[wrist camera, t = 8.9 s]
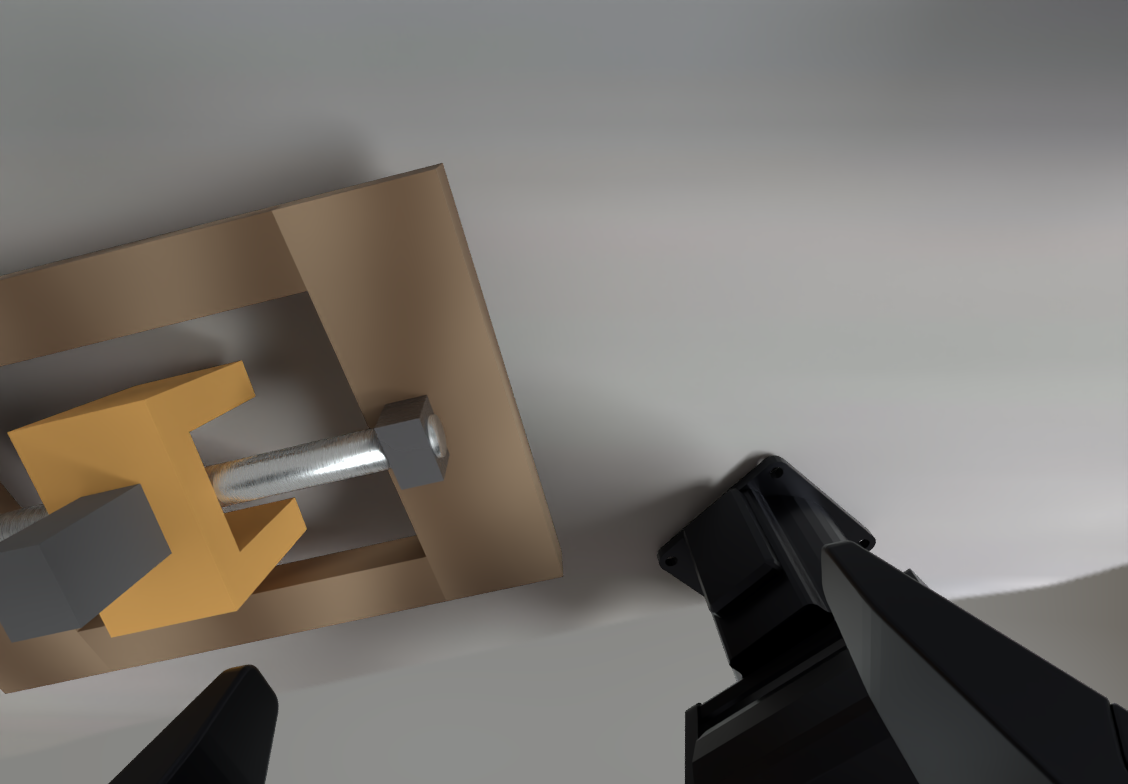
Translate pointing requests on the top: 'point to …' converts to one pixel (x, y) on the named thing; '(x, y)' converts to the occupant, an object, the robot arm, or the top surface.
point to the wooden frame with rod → (375, 374)
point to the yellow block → (136, 515)
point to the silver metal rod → (321, 461)
